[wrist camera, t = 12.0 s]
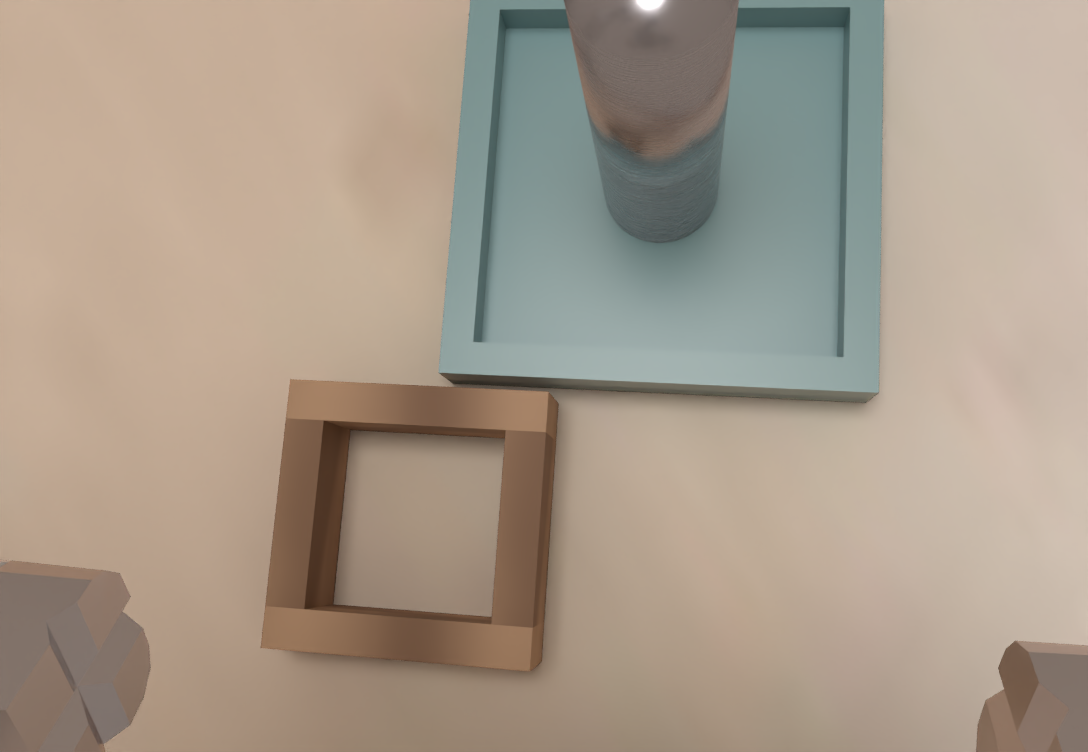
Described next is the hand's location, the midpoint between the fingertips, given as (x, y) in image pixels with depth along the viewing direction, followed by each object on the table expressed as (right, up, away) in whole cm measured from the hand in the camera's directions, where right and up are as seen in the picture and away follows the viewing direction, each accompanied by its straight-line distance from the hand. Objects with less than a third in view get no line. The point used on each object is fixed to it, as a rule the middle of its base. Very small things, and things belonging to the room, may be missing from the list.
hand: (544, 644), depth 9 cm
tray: (+4, +8, +23) cm, 25 cm away
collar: (-4, -2, +22) cm, 23 cm away
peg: (+4, +8, +22) cm, 24 cm away
